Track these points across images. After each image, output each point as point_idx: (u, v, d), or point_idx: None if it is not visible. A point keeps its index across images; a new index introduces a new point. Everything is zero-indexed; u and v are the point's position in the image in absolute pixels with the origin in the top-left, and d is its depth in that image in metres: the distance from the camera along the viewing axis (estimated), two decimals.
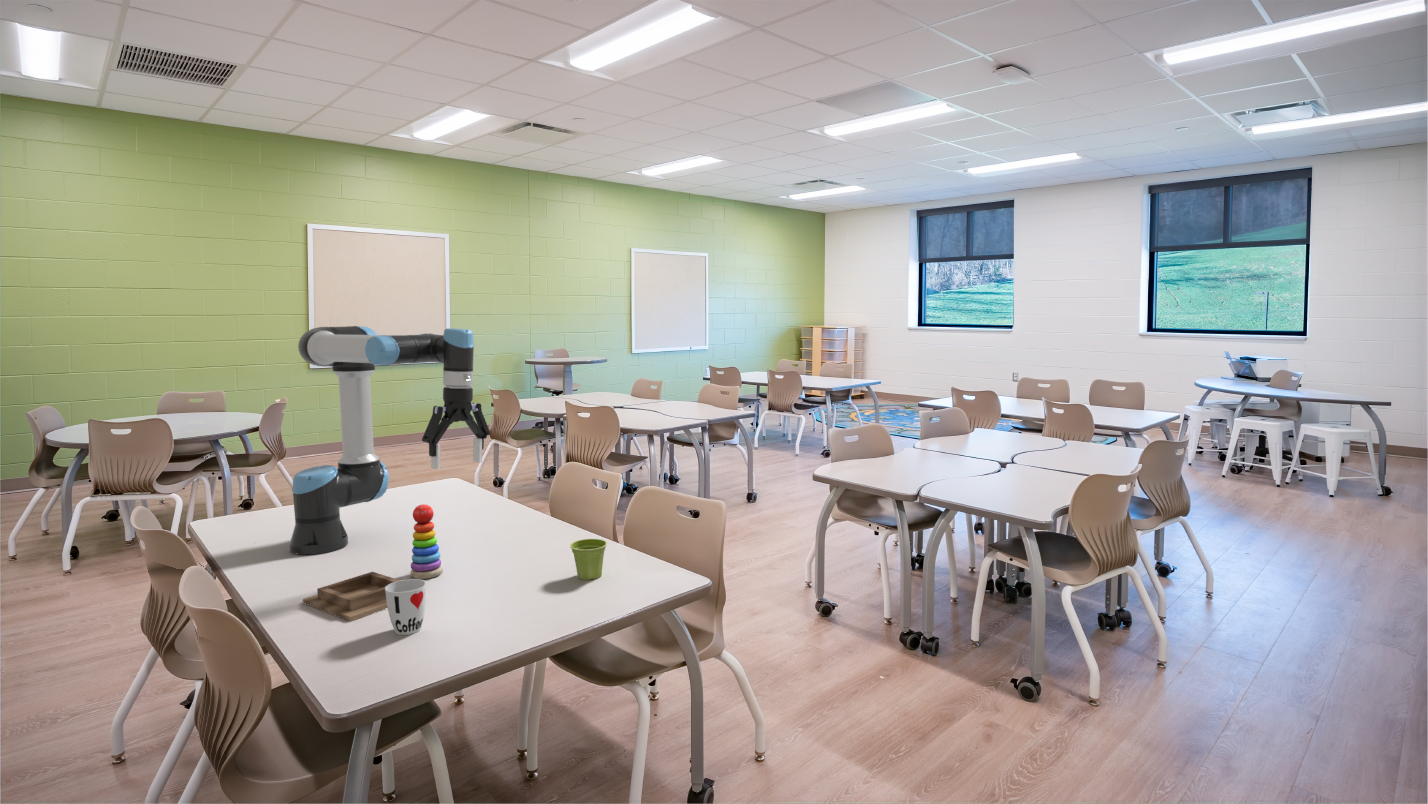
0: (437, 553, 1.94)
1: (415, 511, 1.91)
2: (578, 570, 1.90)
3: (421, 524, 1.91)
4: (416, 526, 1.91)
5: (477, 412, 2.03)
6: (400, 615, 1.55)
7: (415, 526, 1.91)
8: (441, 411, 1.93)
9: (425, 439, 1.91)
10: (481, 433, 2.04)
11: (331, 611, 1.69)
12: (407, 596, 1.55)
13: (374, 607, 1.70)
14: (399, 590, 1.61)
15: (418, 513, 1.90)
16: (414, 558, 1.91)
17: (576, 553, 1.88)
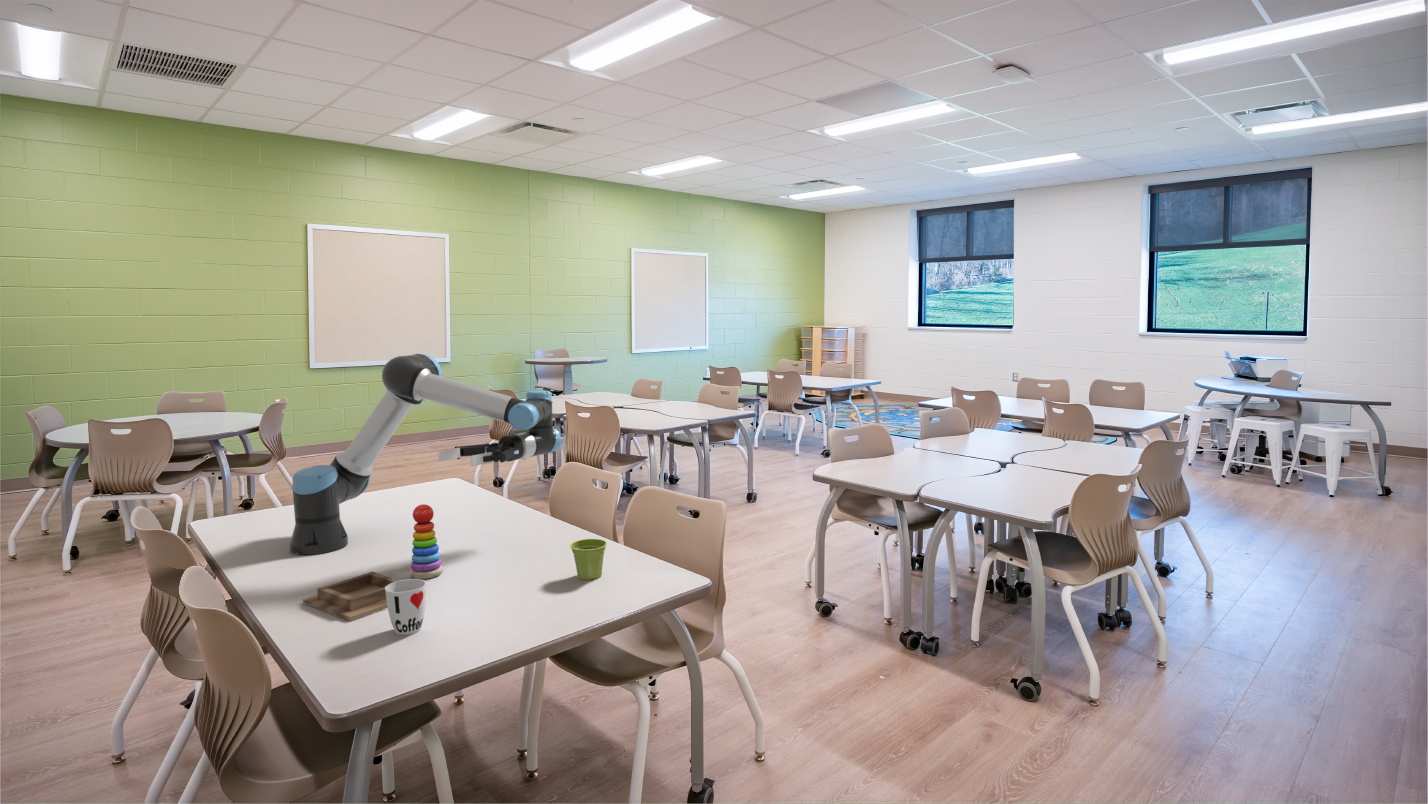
0: (437, 553, 1.94)
1: (415, 511, 1.91)
2: (578, 570, 1.90)
3: (421, 524, 1.91)
4: (416, 526, 1.91)
5: None
6: (400, 615, 1.55)
7: (415, 526, 1.91)
8: None
9: (503, 457, 2.01)
10: None
11: (331, 611, 1.69)
12: (407, 596, 1.55)
13: (374, 607, 1.70)
14: (399, 590, 1.61)
15: (418, 513, 1.90)
16: (414, 558, 1.91)
17: (576, 553, 1.88)
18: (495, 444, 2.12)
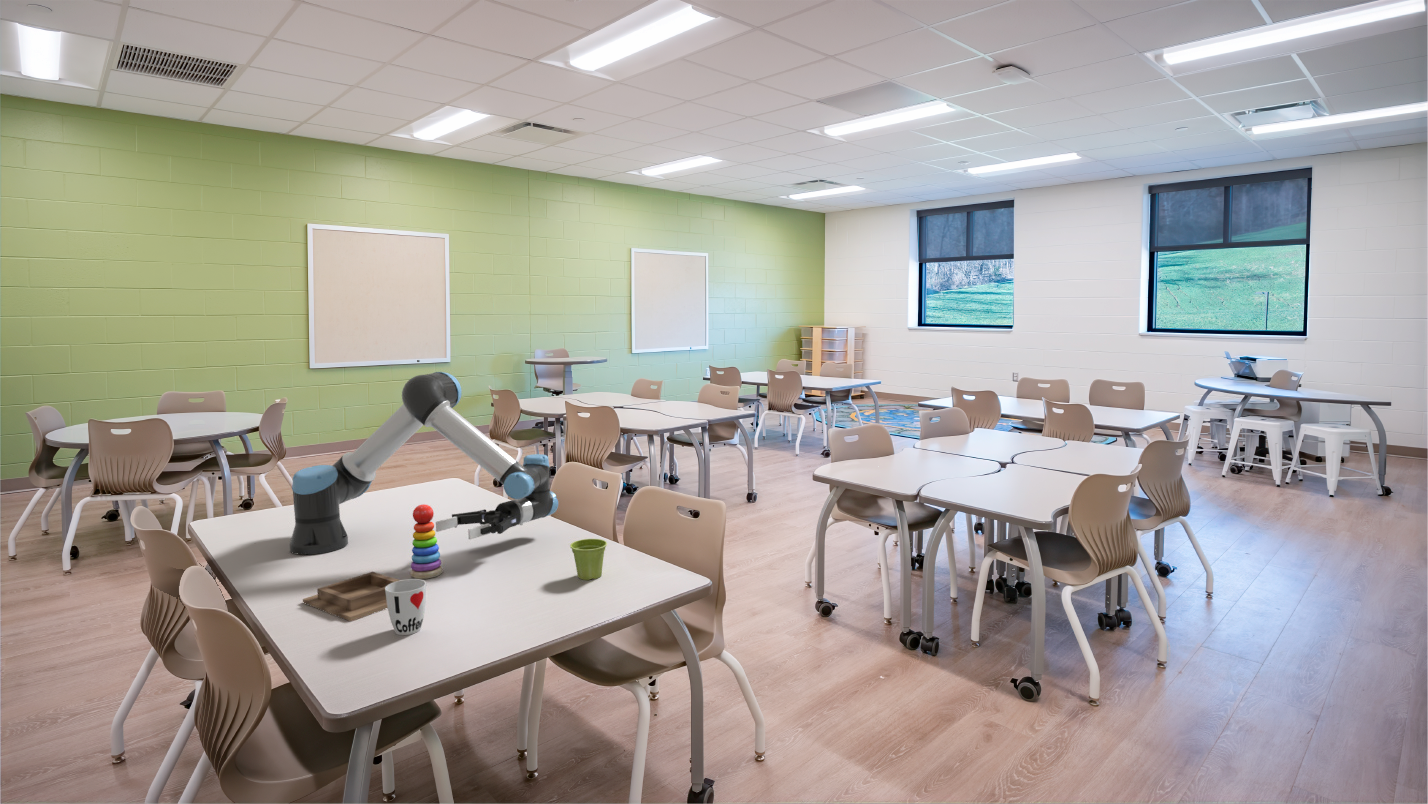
0: (437, 553, 1.94)
1: (415, 511, 1.91)
2: (578, 570, 1.90)
3: (421, 524, 1.91)
4: (416, 526, 1.91)
5: None
6: (400, 615, 1.55)
7: (415, 526, 1.91)
8: None
9: (501, 529, 2.01)
10: None
11: (331, 611, 1.69)
12: (407, 596, 1.55)
13: (374, 607, 1.70)
14: (399, 590, 1.61)
15: (418, 513, 1.90)
16: (414, 558, 1.91)
17: (576, 553, 1.88)
18: (492, 512, 2.12)
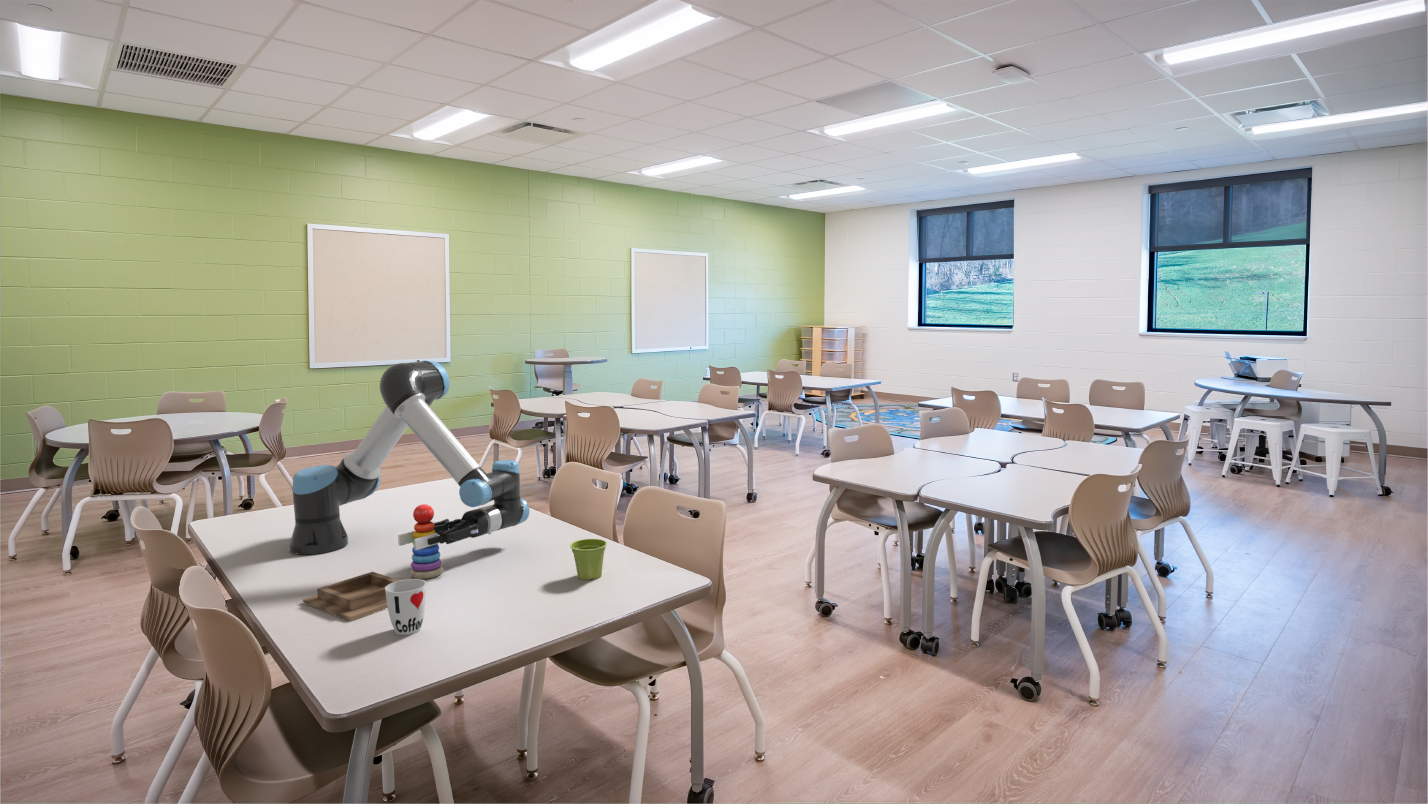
0: (437, 553, 1.93)
1: (415, 511, 1.91)
2: (578, 570, 1.90)
3: (421, 524, 1.91)
4: (416, 526, 1.91)
5: None
6: (400, 615, 1.55)
7: (415, 526, 1.91)
8: None
9: (450, 539, 1.92)
10: None
11: (331, 611, 1.69)
12: (407, 596, 1.55)
13: (374, 607, 1.70)
14: (399, 590, 1.61)
15: (419, 513, 1.90)
16: (414, 557, 1.91)
17: (576, 553, 1.88)
18: (459, 520, 2.03)
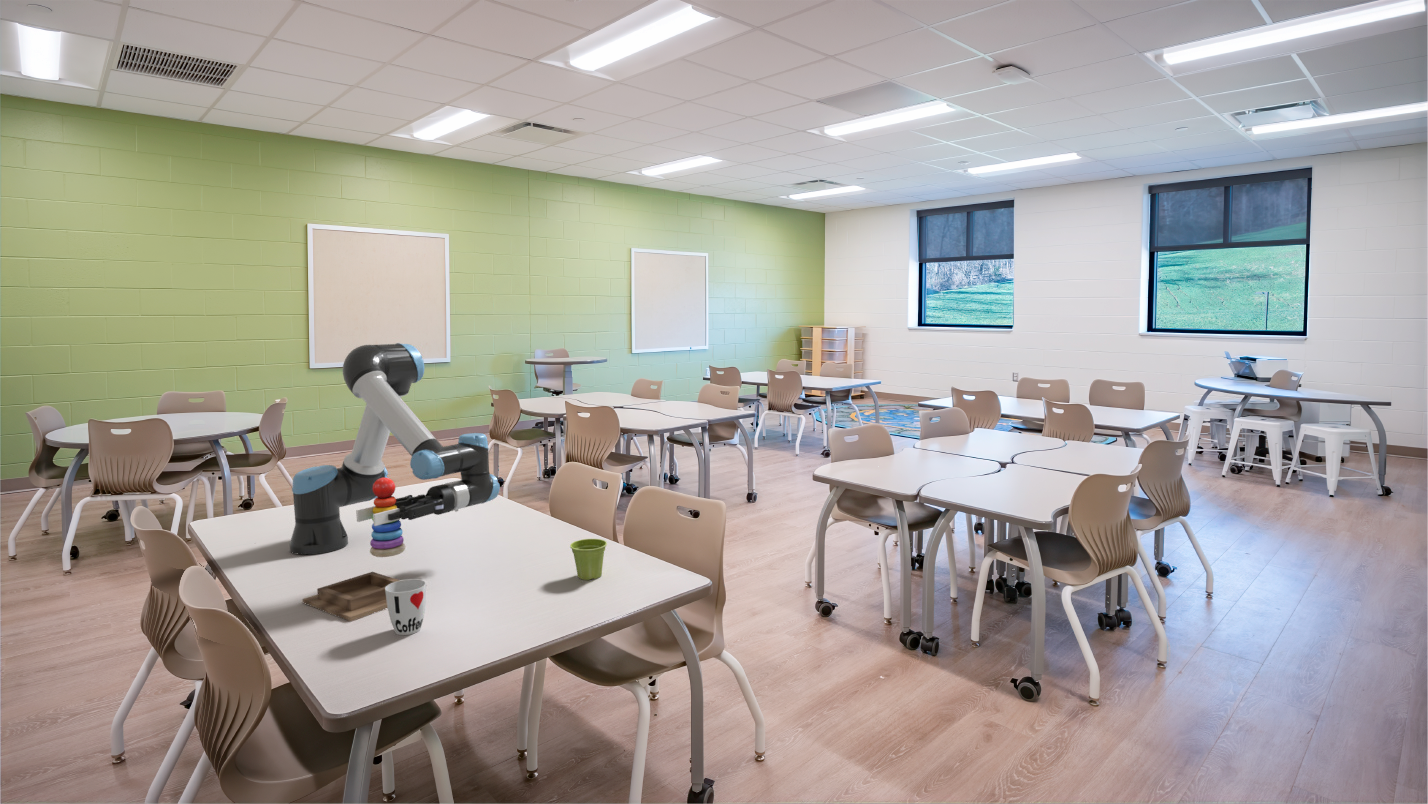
0: (399, 530, 1.81)
1: (375, 484, 1.78)
2: (578, 570, 1.90)
3: (382, 498, 1.78)
4: (376, 501, 1.78)
5: None
6: (400, 615, 1.55)
7: (375, 501, 1.78)
8: None
9: (412, 514, 1.79)
10: None
11: (331, 611, 1.69)
12: (407, 596, 1.55)
13: (374, 607, 1.70)
14: (399, 590, 1.61)
15: (378, 486, 1.77)
16: (374, 534, 1.78)
17: (576, 553, 1.88)
18: (423, 496, 1.90)
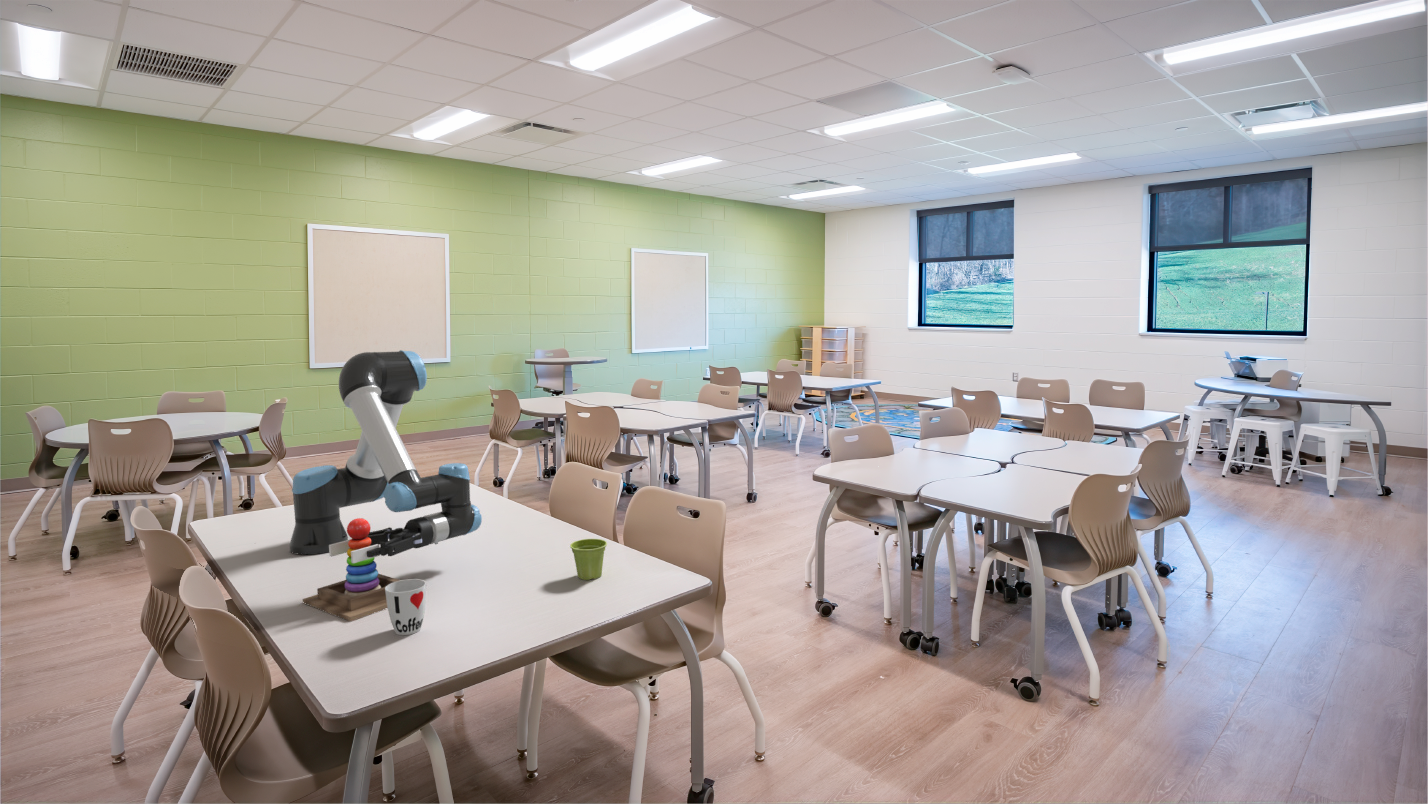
0: (374, 572, 1.76)
1: (349, 526, 1.73)
2: (578, 570, 1.90)
3: (356, 540, 1.74)
4: (350, 542, 1.74)
5: None
6: (400, 615, 1.55)
7: (349, 542, 1.74)
8: None
9: (392, 551, 1.74)
10: None
11: (331, 611, 1.69)
12: (407, 596, 1.55)
13: (374, 607, 1.70)
14: (399, 590, 1.61)
15: (352, 528, 1.73)
16: (348, 577, 1.74)
17: (576, 553, 1.88)
18: (400, 530, 1.86)
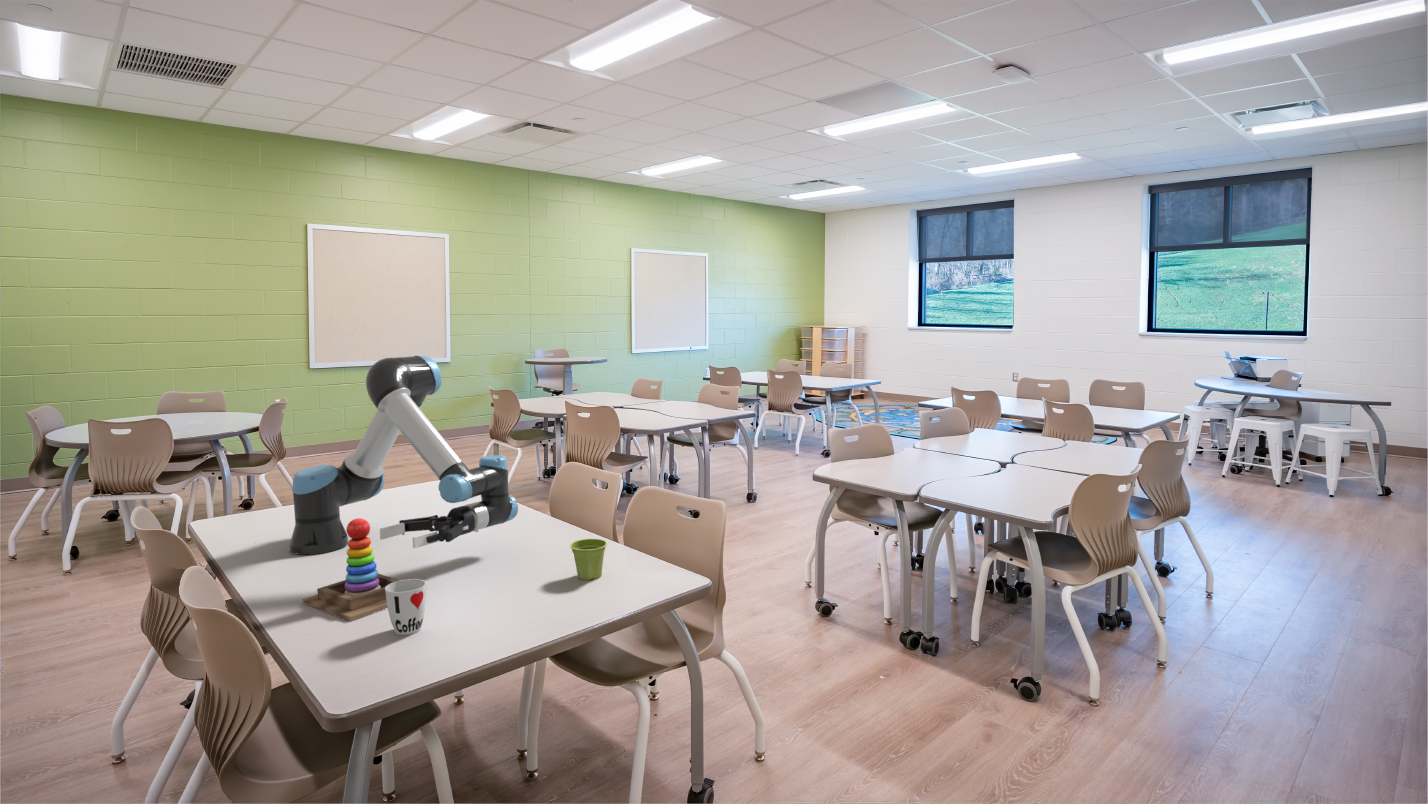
0: (374, 572, 1.76)
1: (349, 526, 1.74)
2: (578, 570, 1.90)
3: (356, 540, 1.74)
4: (350, 542, 1.74)
5: None
6: (400, 615, 1.55)
7: (349, 542, 1.74)
8: None
9: (450, 537, 1.85)
10: None
11: (331, 611, 1.69)
12: (407, 596, 1.55)
13: (374, 607, 1.70)
14: (399, 590, 1.61)
15: (352, 528, 1.73)
16: (348, 577, 1.74)
17: (576, 553, 1.88)
18: (443, 518, 1.96)
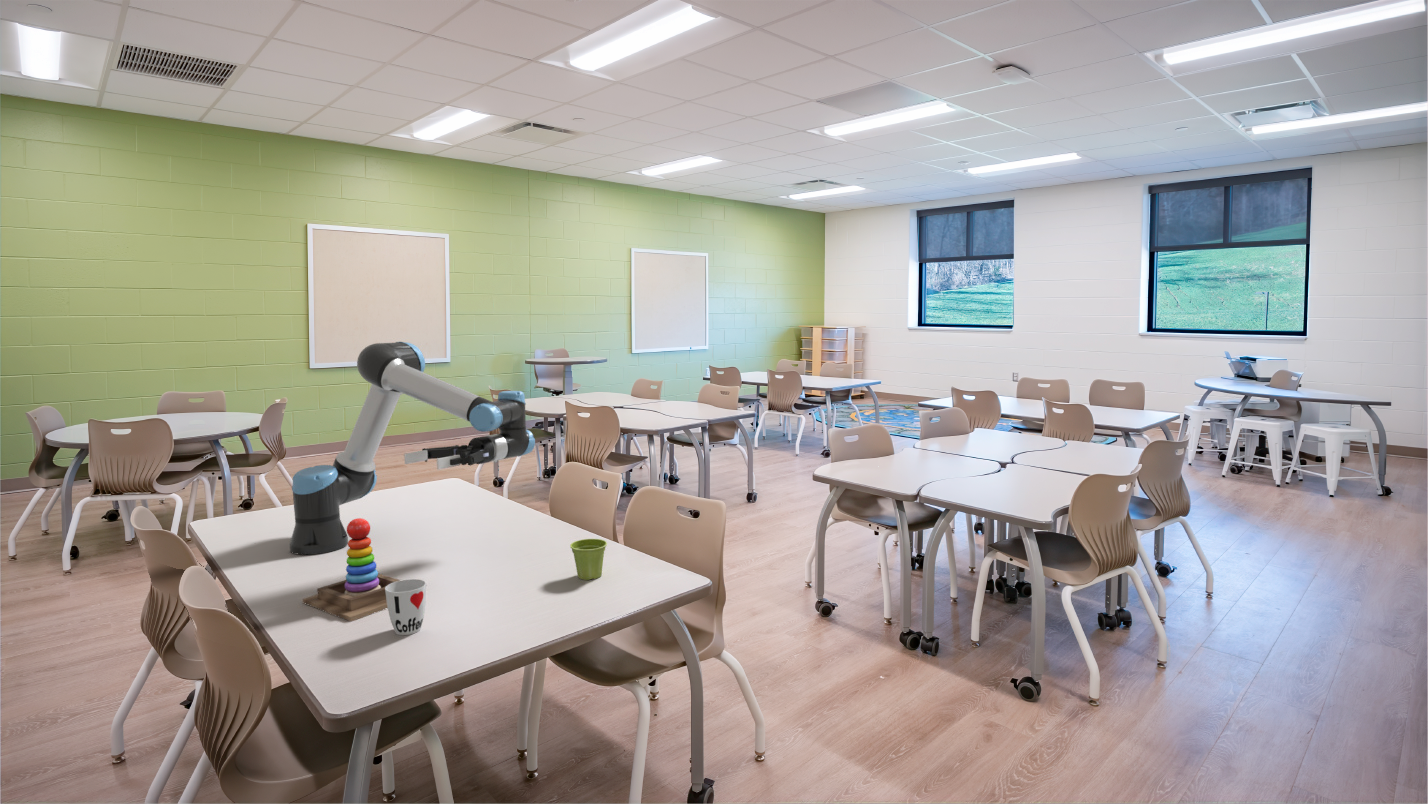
0: (374, 572, 1.77)
1: (349, 526, 1.74)
2: (578, 570, 1.90)
3: (356, 540, 1.74)
4: (350, 542, 1.74)
5: None
6: (400, 615, 1.55)
7: (349, 542, 1.74)
8: None
9: (472, 460, 1.93)
10: None
11: (331, 611, 1.69)
12: (407, 596, 1.55)
13: (374, 607, 1.70)
14: (399, 590, 1.61)
15: (352, 528, 1.73)
16: (348, 577, 1.74)
17: (576, 553, 1.88)
18: (464, 446, 2.04)
